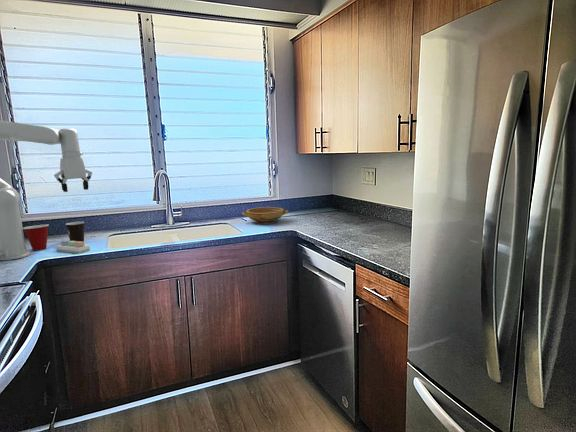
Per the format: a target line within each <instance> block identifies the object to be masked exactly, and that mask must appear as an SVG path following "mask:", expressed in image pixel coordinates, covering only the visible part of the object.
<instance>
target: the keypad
mask: <svg viewBox="0 0 576 432" xmlns="http://www.w3.org/2000/svg"><path fill="white" fill-rule="evenodd" d="M56 249H57V250H56V251H57V252H63V253H72V254H79V253H80V254H82V253H86V252H90V251H91V247H90V245H89V244H84V246H82V247H76V246H69V245H67V246H66V245H62V244H59V245H56Z"/></svg>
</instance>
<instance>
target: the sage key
mask: <svg viewBox="0 0 576 432" xmlns="http://www.w3.org/2000/svg"><path fill="white" fill-rule="evenodd" d="M75 242H77V241H69V242H68V245H69V246H75Z"/></svg>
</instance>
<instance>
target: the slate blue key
mask: <svg viewBox="0 0 576 432" xmlns="http://www.w3.org/2000/svg"><path fill="white" fill-rule="evenodd" d="M69 241H70V239H64V240H61V241H60V242H61V245H66V246H67V245H68V242H69Z"/></svg>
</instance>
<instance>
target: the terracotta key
mask: <svg viewBox="0 0 576 432" xmlns="http://www.w3.org/2000/svg"><path fill="white" fill-rule="evenodd" d="M84 245H85V241H83V242H81V241H78V242H75V246H76V247H82V246H84Z"/></svg>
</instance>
